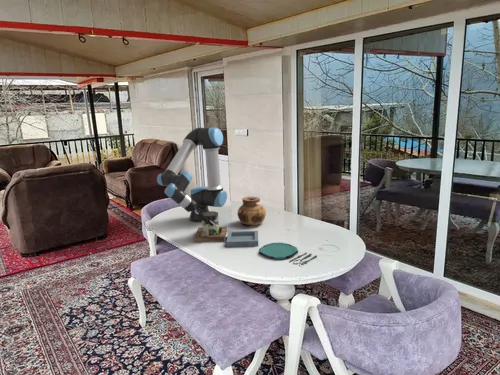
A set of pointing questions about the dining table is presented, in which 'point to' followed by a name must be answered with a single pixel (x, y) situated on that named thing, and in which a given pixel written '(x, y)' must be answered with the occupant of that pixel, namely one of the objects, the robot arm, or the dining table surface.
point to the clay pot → (251, 211)
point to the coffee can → (208, 229)
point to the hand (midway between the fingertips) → (215, 225)
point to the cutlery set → (282, 251)
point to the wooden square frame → (210, 237)
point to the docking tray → (242, 238)
